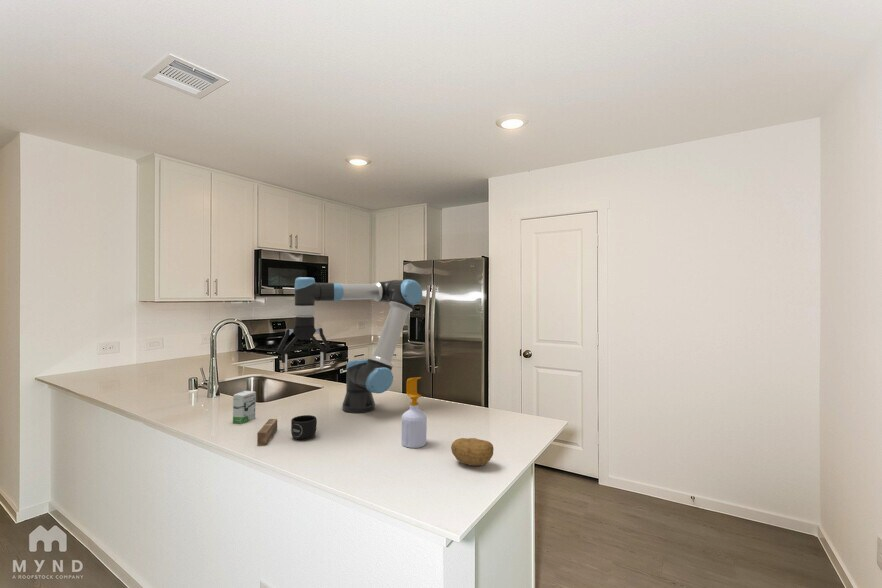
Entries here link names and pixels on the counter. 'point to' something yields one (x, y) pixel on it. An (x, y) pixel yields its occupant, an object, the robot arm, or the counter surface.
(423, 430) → the soap bottle
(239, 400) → the ink box
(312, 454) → the counter surface
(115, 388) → the counter surface
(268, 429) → the long brown box
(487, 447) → the potato
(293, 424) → the mug
